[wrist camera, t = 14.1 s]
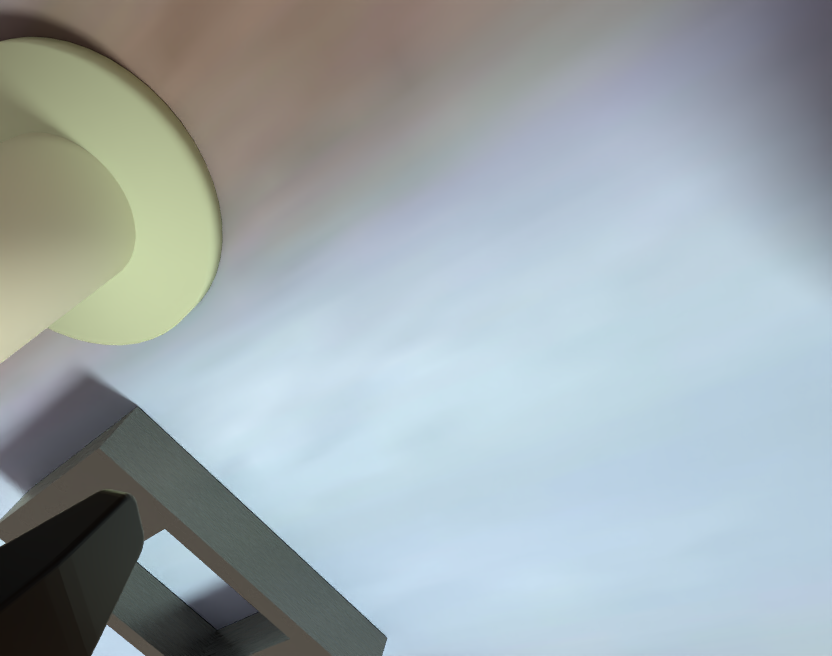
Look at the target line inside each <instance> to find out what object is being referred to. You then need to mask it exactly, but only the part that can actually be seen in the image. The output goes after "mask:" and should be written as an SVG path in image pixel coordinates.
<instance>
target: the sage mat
mask: <svg viewBox="0 0 832 656" xmlns="http://www.w3.org/2000/svg"><path fill="white" fill-rule="evenodd" d="M33 132H39V133H48V134H53V135H57V136H60V137H63V138H65V139H67V140H70V141H72V142H74V143H76V144H77V145H79V146H81V147H82V148H84V149H85V150H87V151H88V152H89V153H91V154H92V155H93V156H94V157H96V158H97V159H98V160H99V161H100V162H101V163H102V164H103V165H104V166H105V167H106V168H107V169H108V170H109V172H110V173H111V174H112V175H113V177H114V178H115V179H116V181H117V182H118V184H119V185H120V187H121V188H122V190H123V192H124V194H125V196H126V198H127V200H128V202H129V205H130V208H131V210H132V214H133V218H134V222H135V231H136V237H135V246H134V251H133V254H132V257H131V259H130V260H129V262H128V264H127V265H126V266H125V268H124V269H123V270H122V271H121V272H119V273H118V274H117V275H116V276H114V277H113V278H112V279H110V280H109V281H108V282H107V283H105V284H104V285H103V286H101V287H100V288H99V289H97V290H96V291H95V292H93V293H92V294H91V295H90V296H88V297H87V298H86V299H84V300H83V301H82V302H80V303H79V304H78V305H76V306H75V307H74V308H73V309H71V310H70V311H69V312H67V313H66V314H65V315H63V316H62V317H61V318H59V319H58V320H57V321H56V322H54V323H53V324H52V325H50V326H49V327H48V328H49V329H51V330H53V331H55V332H58V333H60V334H63V335H66V336H68V337H71V338H74V339H78V340H82V341H86V342H90V343H97V344H104V345H127V344H135V343H140V342H144V341H147V340H151V339H153V338H155V337H158V336H160V335H162V334H164V333H166V332H167V331H169V330H170V329H172V328H173V327H174V326H176V325H177V324H178V323H179V322H180V321H181V320H182V319H183V318H184V317H185V316H186V315H187V314H188V313H189V312H190V311H191V310H192V309H193V308H194V307H195V306H196V305H197V304H198V303H199V302H200V301H201V300H202V299H203V297H204V296H205V294H206V293H207V291H208V290H209V289H210V286H211V284H212V282H213V280H214V278H215V276H216V273H217V269H218V266H219V262H220V258H221V250H222V219H221V213H220V206H219V201H218V198H217V194H216V190H215V187H214V183H213V181H212V178H211V176H210V173H209V171H208V168H207V166H206V163H205V161H204V159H203V158H202V156H201V154H200V152H199V150H198V148H197V146H196V144H195V142H194V141H193V139H192V138H191V136H190V135H189V133H188V132H187V130H186V129H185V127H184V126H183V124H182V123H181V122H180V121H179V119H178V118H177V117H176V116H175V114H174V113H173V112H172V111H171V110H170V108H169V107H168V106H167V105H166V104H165V103H164V102H163V101H162V100H161V99H160V98H159V97H158V96H157V95H156V94H155V93H154V92H153V91H152V90H151V89H150V88H149V87H148V86H147V85H146V84H144V83H143V82H142V81H141V80H139V79H138V78H137V77H136V76H134V75H133V74H132V73H131V72H129V71H128V70H126V69H125V68H123V67H122V66H120V65H118V64H117V63H115V62H114V61H112V60H111V59H109V58H107V57H105V56H103V55H101V54H99V53H97V52H95V51H93V50H91V49H88V48H85V47H82V46H80V45H77V44H74V43H71V42H68V41H63V40H58V39H53V38H45V37H22V38H14V39H8V40H4V41H0V143H1V142H3V141H6V140H8V139H10V138H13V137H15V136H18V135H21V134H25V133H33Z"/></svg>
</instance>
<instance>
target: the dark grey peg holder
mask: <svg viewBox="0 0 832 656" xmlns="http://www.w3.org/2000/svg"><path fill="white" fill-rule="evenodd" d="M103 489H112V490H116V491H121V492H126V493H129V494H132V495H133V496H134V497H135V499H136V502H137V506H138V510H139V514H140V519H141V523H142V528H143V532H144V541H145V540H147V539H148V538H150V537H152V536H153V535H155V534H157V533H158V532H160V531H162V530H164V529H166V530H167V531H168V532H169V533H170V534H171V535H173V536H174V537H175V538H176V539H177V540H178V541H179V542H181V543H182V544H183V545H184V546H185V547H186V548H187V549H189V550H190V551H191V552H192V553H193V554H194V555H195V556H197V557H198V558H199V559H200V560H201V561H202V562H203V563H204V564H206V565H207V566H208V567H209V568H210V569H211V570H212V571H214V572H215V573H216V574H217V575H218V576H219V577H220V578H222V579H223V580H224V581H225V582H226V583H227V584H228V585H230V586H231V587H232V588H233V589H234V590H235V591H236V592H237V593H239V594H240V595H241V596H242V597H243V598H244V599H245V600H247V601H248V602H249V603H250V604H251V605H252V606H253V607H255V608H256V609H257V610H258V611H259V612H258V613H256V614H254V615H252V616H249V617H247V618H245V619H242V620H240V621H238V622H235V623H233V624H231V625H229V626H226V627H224V628H222V629H219V630H215V629H214V628H213V627H212V626H211V625H210V624H208V623H207V622H206V621H205V620H204V619H202V618H201V617H200V616H199V615H198V614H197V613H195V612H194V611H193V610H192V609H191V608H190V607H188V606H187V605H186V604H185V603H184V602H182V601H181V600H180V599H179V598H178V597H177V596H175V595H174V594H173V593H172V592H171V591H170V590H168V589H167V588H166V587H165V586H164V585H162V584H161V583H160V582H159V581H158V580H157V579H155V578H154V577H153V576H152V575H151V574H149V573H148V572H147V571H146V570H145V569H144V568H142V567H141V566H140V565H139V564H138V563H137V562H136V564H135V566H134V568H133V570H132V573H131V575H130V577H129V579H128V581H127V583H126V585H125V587H124V589H123V591H122V593H121V595H120V598H119V600H118V602H117V604H116V606H115V608H114V610H113V612H112V614H111V616H110V618H109V620H108V623H107V625H108V626H109V627H111V628H112V629H113V630H114V631H116V632H117V633H118V634H119V635H121V636H122V637H123V638H124V639H125V640H127V641H128V642H129V643H130V644H132V645H133V646H134V647H135V648H137V649H138V650H139V651H140V652H142V653H143V654H144V655H145V656H382V654H383V651H384V648H385V644H386V641H387V638H386V637H385V636H384V635H383V634H382V633H381V632H380V631H379V630H378V629H377V628H376V627H374V626H373V625H372V624H371V623H370V622H369V621H368V620H367V619H366V618H365V617H364V616H363V615H362V614H360V613H359V612H358V611H357V610H356V609H355V608H354V607H353V606H352V605H351V604H350V603H349V602H348V601H346V600H345V599H344V598H343V597H342V596H341V595H340V594H339V593H338V592H337V591H336V590H335V589H334V588H332V587H331V586H330V585H329V584H328V583H327V582H326V581H325V580H324V579H323V578H322V577H321V576H320V575H318V574H317V573H316V572H315V571H314V570H313V569H312V568H311V567H310V566H309V565H308V564H307V563H306V562H304V561H303V560H302V559H301V558H300V557H299V556H298V555H297V554H296V553H295V552H294V551H293V550H292V549H290V548H289V547H288V546H287V545H286V544H285V543H284V542H283V541H282V540H281V539H280V538H279V537H278V536H276V535H275V534H274V533H273V532H272V531H271V530H270V529H269V528H268V527H267V526H266V525H265V524H264V523H262V522H261V521H260V520H259V519H258V518H257V517H256V516H255V515H254V514H253V513H252V512H251V511H250V510H248V509H247V508H246V507H245V506H244V505H243V504H242V503H241V502H240V501H239V500H238V499H237V498H236V497H234V496H233V495H232V494H231V493H230V492H229V491H228V490H227V489H226V488H225V487H224V486H223V485H222V484H220V483H219V482H218V481H217V480H216V479H215V478H214V477H213V476H212V475H211V474H210V473H209V472H208V471H206V470H205V469H204V468H203V467H202V466H201V465H200V464H199V463H198V462H197V461H196V460H195V459H194V458H192V457H191V456H190V455H189V454H188V453H187V452H186V451H185V450H184V449H183V448H182V447H181V446H180V445H178V444H177V443H176V442H175V441H174V440H173V439H172V438H171V437H170V436H169V435H168V434H167V433H166V432H164V431H163V430H162V429H161V428H160V427H159V426H158V425H157V424H156V423H155V422H154V421H153V420H152V419H150V418H149V417H148V416H147V415H146V414H145V413H144V412H143V411H142V410H141V409H140V408H139V407H136V408H135V409H134V410H132V411H131V412H130V413H128V414H127V415H126V416H125V417H123V418H122V419H121V420H119V421H118V422H117V423H115V424H114V425H113V426H112V427H110V428H109V429H108V430H106V431H105V432H104V433H102V434H101V435H100V436H99V437H97V438H96V439H95V440H93V441H92V442H91V443H89V444H88V445H87V446H86V447H84V448H83V449H82V450H80V451H79V452H78V453H76V454H75V455H74V456H73V457H71V458H70V459H69V460H67V461H66V462H65V463H63V464H62V465H61V466H60V467H58V468H57V469H56V470H54V471H53V472H52V473H50V474H49V475H48V476H47V477H45V478H44V479H43V480H41V481H40V482H39V483H37V484H36V485H35V486H34V487H32V488H31V489H30V490H29V491H28V492H27V493H26V494H25V495H24V496H23V497H22V498H21V499H20V500H19V501H18V502H17V503H16V504H15V505H14V506H13V507H12V508H11V509H10V510H9V511H8V512H7V513H6V514H5V515H4V516H3V517H2V518H1V519H0V539H1V540H3V541H4V542H5V543H7V542H9V541H11V540H13V539H14V538H16V537H18V536H20V535H22V534H23V533H25V532H27V531H29V530H30V529H32V528H34V527H36V526H37V525H39V524H41V523H43V522H44V521H46V520H48V519H50V518H52V517H53V516H55V515H57V514H59V513H60V512H62V511H64V510H66V509H67V508H69V507H71V506H73V505H75V504H76V503H78V502H80V501H82V500H83V499H85V498H87V497H89V496H90V495H92V494H94V493H96V492H98V491H100V490H103Z"/></svg>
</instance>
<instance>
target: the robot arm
mask: <svg viewBox="0 0 832 656" xmlns="http://www.w3.org/2000/svg"><path fill="white" fill-rule="evenodd" d="M143 544H144V532H143V528H142V523H141V519H140V514H139V510H138V506H137V502H136V499H135V497H134V496H133V495H132V494H129V493H126V492H121V491H116V490H112V489H103V490H100V491H98V492H96V493H94V494H92V495H90V496H89V497H87V498H85V499H83V500H82V501H80V502H78V503H76V504H75V505H73V506H71V507H69V508H67V509H66V510H64V511H62V512H60V513H59V514H57V515H55V516H53V517H52V518H50V519H48V520H46V521H44V522H43V523H41V524H39V525H37V526H36V527H34V528H32V529H30V530H29V531H27V532H25V533H23V534H22V535H20V536H18V537H16V538H14V539H13V540H11V541H9V542H7V543H6V544H4V545H2V546H0V656H91V655H92V653H93V651H94V649H95V647H96V645H97V643H98V641H99V639H100V637H101V635H102V633H103V631H104V629H105V627H106V625H107V623H108V620H109V618H110V616H111V614H112V612H113V610H114V608H115V606H116V604H117V602H118V600H119V598H120V595H121V593H122V591H123V589H124V587H125V585H126V583H127V581H128V579H129V577H130V575H131V573H132V570H133V568H134V566H135V564H136V562H137V560H138V558H139V556H140V554H141V551H142V548H143Z"/></svg>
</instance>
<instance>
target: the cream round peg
mask: <svg viewBox="0 0 832 656" xmlns="http://www.w3.org/2000/svg"><path fill="white" fill-rule="evenodd" d="M135 237H136V231H135V222H134V218H133V214H132V210H131V208H130V205H129V202H128V200H127V198H126V196H125V194H124V192H123V190H122V188H121V187H120V185H119V184H118V182H117V181H116V179H115V178H114V177H113V175H112V174H111V173H110V172H109V170H108V169H107V168H106V167H105V166H104V165H103V164H102V163H101V162H100V161H99V160H98V159H97V158H96V157H94V156H93V155H92V154H91V153H89V152H88V151H87V150H85V149H84V148H82V147H81V146H79V145H77V144H76V143H74V142H72V141H70V140H67V139H65V138H63V137H60V136H57V135H53V134H48V133H39V132H33V133H25V134H21V135H18V136H15V137H13V138H10V139H8V140H6V141H3V142H1V143H0V364H1V363H2V362H3V361H5V360H6V359H7V358H9V357H10V356H11V355H12V354H14V353H15V352H16V351H18V350H19V349H20V348H22V347H23V346H24V345H25V344H27V343H28V342H29V341H31V340H32V339H33V338H35V337H36V336H37V335H39V334H40V333H41V332H42V331H44V330H45V329H46V328H48V327H49V326H50V325H52V324H53V323H54V322H56V321H57V320H58V319H59V318H61V317H62V316H63V315H65V314H66V313H67V312H69V311H70V310H71V309H73V308H74V307H75V306H76V305H78V304H79V303H80V302H82V301H83V300H84V299H86V298H87V297H88V296H90V295H91V294H92V293H93V292H95V291H96V290H97V289H99V288H100V287H101V286H103V285H104V284H105V283H107V282H108V281H109V280H110V279H112V278H113V277H114V276H116V275H117V274H118V273H119V272H121V271H122V270H123V269H124V268H125V266H126V265H127V264H128V262H129V260H130V259H131V257H132V254H133V251H134V246H135Z"/></svg>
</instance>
